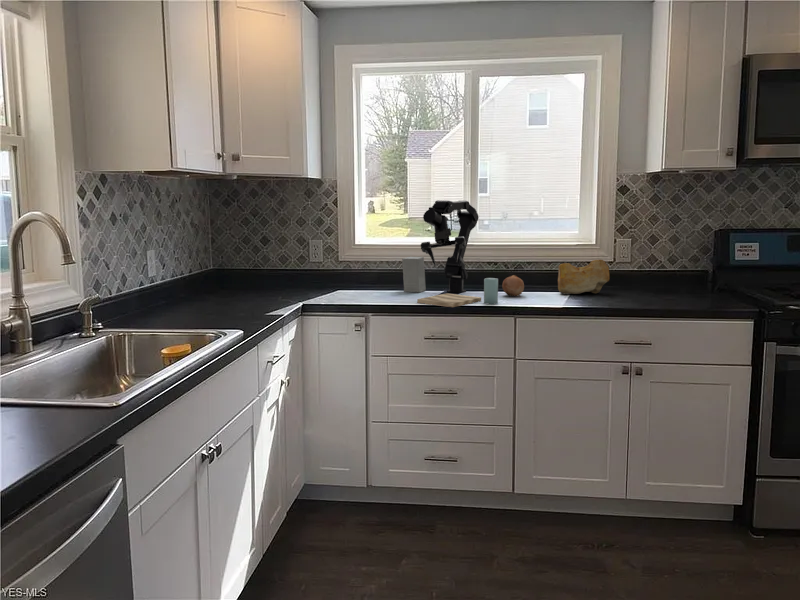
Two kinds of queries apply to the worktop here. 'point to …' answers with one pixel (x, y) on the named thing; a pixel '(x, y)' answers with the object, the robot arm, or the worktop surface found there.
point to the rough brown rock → (583, 277)
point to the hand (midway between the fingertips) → (445, 263)
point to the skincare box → (413, 274)
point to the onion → (513, 286)
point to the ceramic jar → (491, 290)
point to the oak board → (449, 300)
